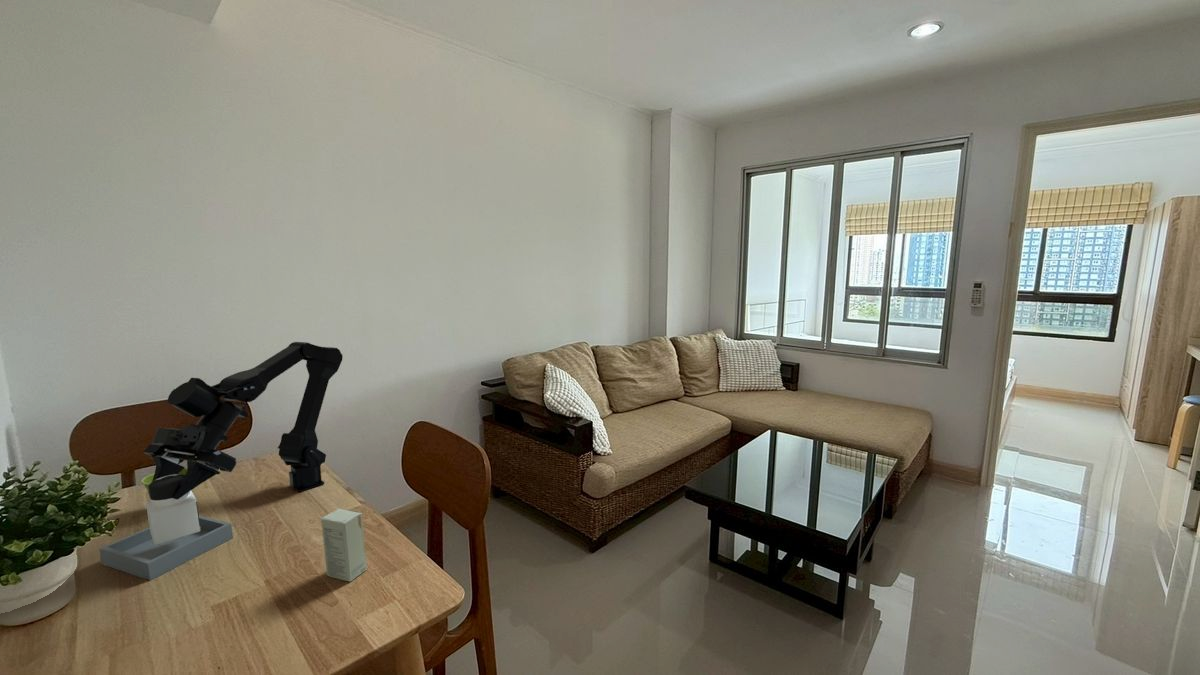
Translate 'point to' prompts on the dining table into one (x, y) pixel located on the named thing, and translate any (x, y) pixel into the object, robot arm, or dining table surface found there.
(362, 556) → the skincare box
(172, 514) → the medicine bottle
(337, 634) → the dining table surface
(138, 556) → the tray
